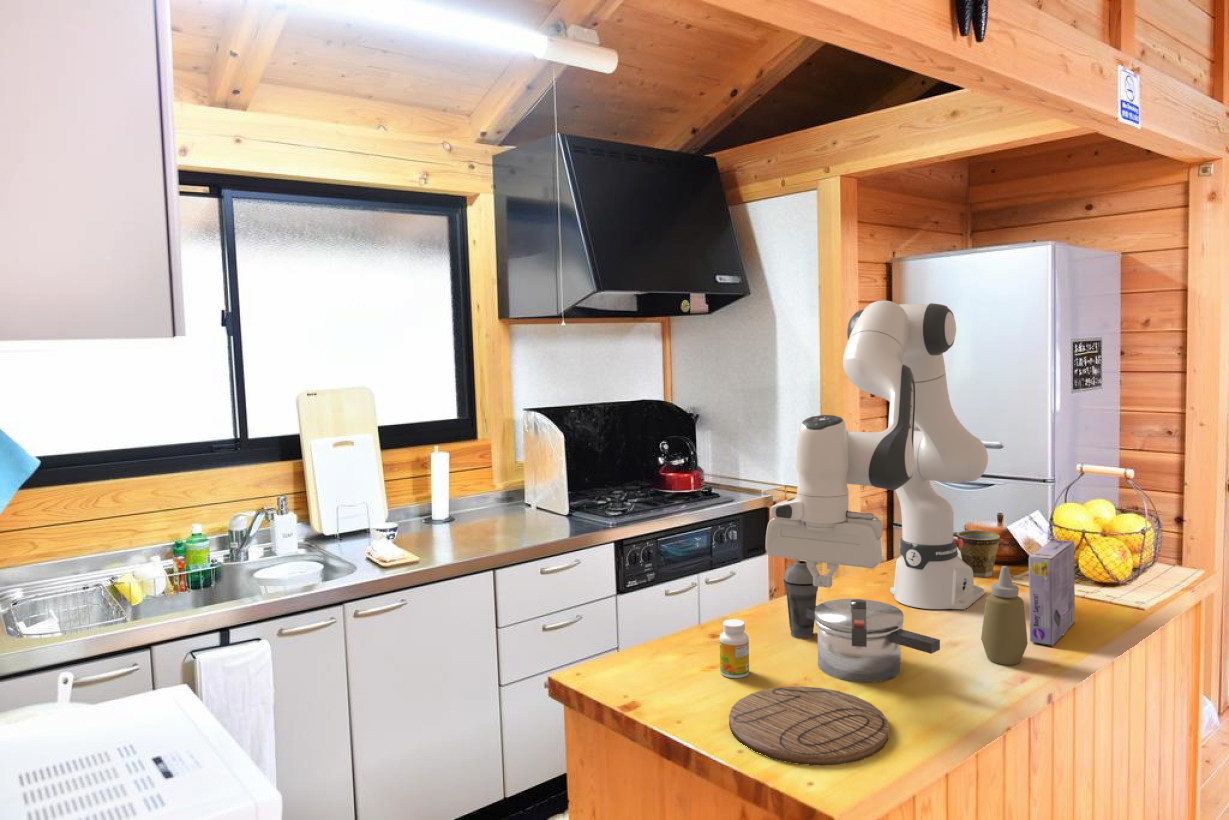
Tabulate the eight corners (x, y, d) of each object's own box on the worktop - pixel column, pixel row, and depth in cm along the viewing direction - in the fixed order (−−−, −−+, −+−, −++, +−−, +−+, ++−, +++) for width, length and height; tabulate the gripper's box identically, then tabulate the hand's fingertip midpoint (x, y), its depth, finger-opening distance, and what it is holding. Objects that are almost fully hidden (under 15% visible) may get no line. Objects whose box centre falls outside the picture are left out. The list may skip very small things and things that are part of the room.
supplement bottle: (714, 670, 168) (713, 620, 167) (739, 665, 170) (738, 616, 169) (729, 681, 163) (728, 629, 162) (754, 675, 165) (754, 624, 164)
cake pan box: (1051, 617, 192) (1053, 536, 190) (1077, 621, 189) (1079, 539, 187) (1026, 643, 177) (1027, 556, 176) (1053, 648, 174) (1055, 559, 172)
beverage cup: (820, 641, 181) (819, 545, 179) (783, 640, 183) (782, 544, 181) (819, 629, 189) (818, 536, 187) (784, 628, 190) (783, 535, 188)
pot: (835, 640, 182) (835, 597, 181) (958, 678, 161) (959, 630, 160) (785, 661, 171) (785, 615, 171) (910, 704, 151) (910, 653, 150)
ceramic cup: (1007, 575, 223) (1008, 535, 222) (981, 581, 218) (982, 541, 217) (964, 563, 234) (964, 526, 233) (938, 569, 229) (938, 531, 228)
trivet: (697, 726, 146) (697, 715, 146) (798, 684, 161) (798, 674, 161) (818, 786, 127) (818, 773, 126) (921, 732, 142) (921, 721, 142)
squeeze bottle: (991, 648, 175) (992, 558, 173) (1034, 659, 169) (1035, 566, 167) (973, 660, 169) (974, 567, 167) (1017, 671, 164) (1018, 575, 162)
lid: (901, 607, 173) (901, 582, 172) (909, 656, 148) (909, 628, 147) (816, 602, 177) (816, 579, 176) (810, 650, 152) (810, 622, 152)
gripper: (887, 510, 154) (886, 589, 155) (775, 501, 164) (775, 574, 166) (877, 517, 148) (876, 599, 150) (761, 507, 159) (762, 583, 160)
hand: (822, 586), depth 158 cm, fingers closed
